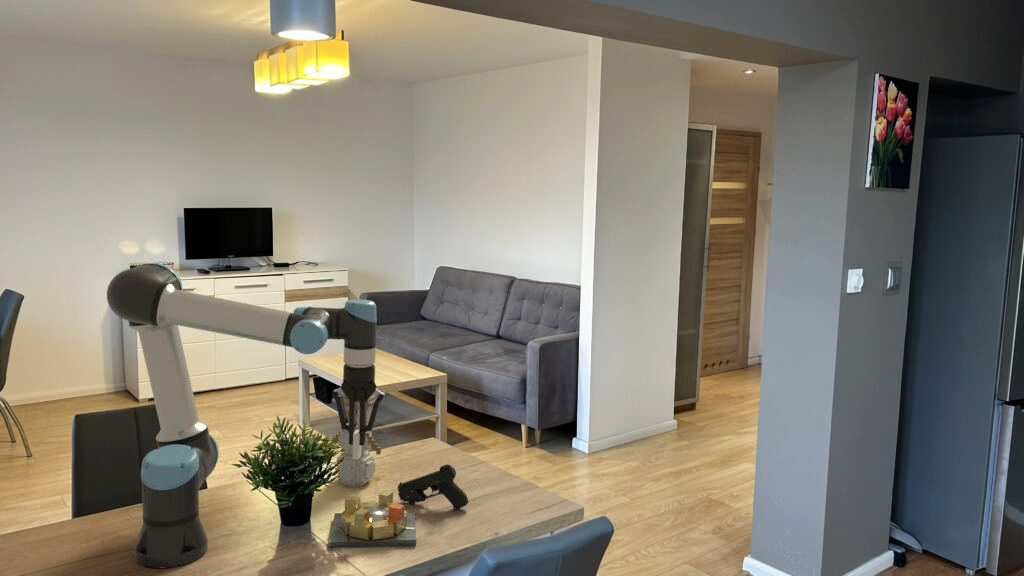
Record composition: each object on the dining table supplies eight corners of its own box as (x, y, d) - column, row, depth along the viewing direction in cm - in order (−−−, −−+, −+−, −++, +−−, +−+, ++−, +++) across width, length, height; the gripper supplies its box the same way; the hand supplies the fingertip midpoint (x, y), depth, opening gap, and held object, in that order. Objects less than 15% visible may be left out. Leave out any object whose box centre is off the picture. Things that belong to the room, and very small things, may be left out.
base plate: (329, 548, 183) (329, 527, 182) (334, 518, 199) (334, 499, 198) (416, 545, 186) (416, 524, 185) (414, 516, 202) (414, 497, 201)
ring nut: (387, 543, 183) (387, 519, 182) (330, 532, 187) (331, 508, 186) (415, 518, 197) (415, 495, 196) (362, 508, 201) (362, 486, 201)
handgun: (468, 506, 206) (451, 464, 205) (411, 525, 210) (393, 484, 209) (470, 503, 208) (453, 461, 207) (413, 521, 212) (396, 481, 211)
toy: (318, 484, 220) (319, 380, 216) (342, 469, 232) (343, 370, 227) (368, 494, 215) (369, 387, 211) (390, 478, 226) (392, 377, 222)
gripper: (388, 361, 194) (385, 453, 197) (336, 358, 194) (334, 450, 197) (383, 369, 186) (380, 464, 189) (328, 365, 186) (326, 461, 190)
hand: (356, 457), depth 193 cm, fingers closed
